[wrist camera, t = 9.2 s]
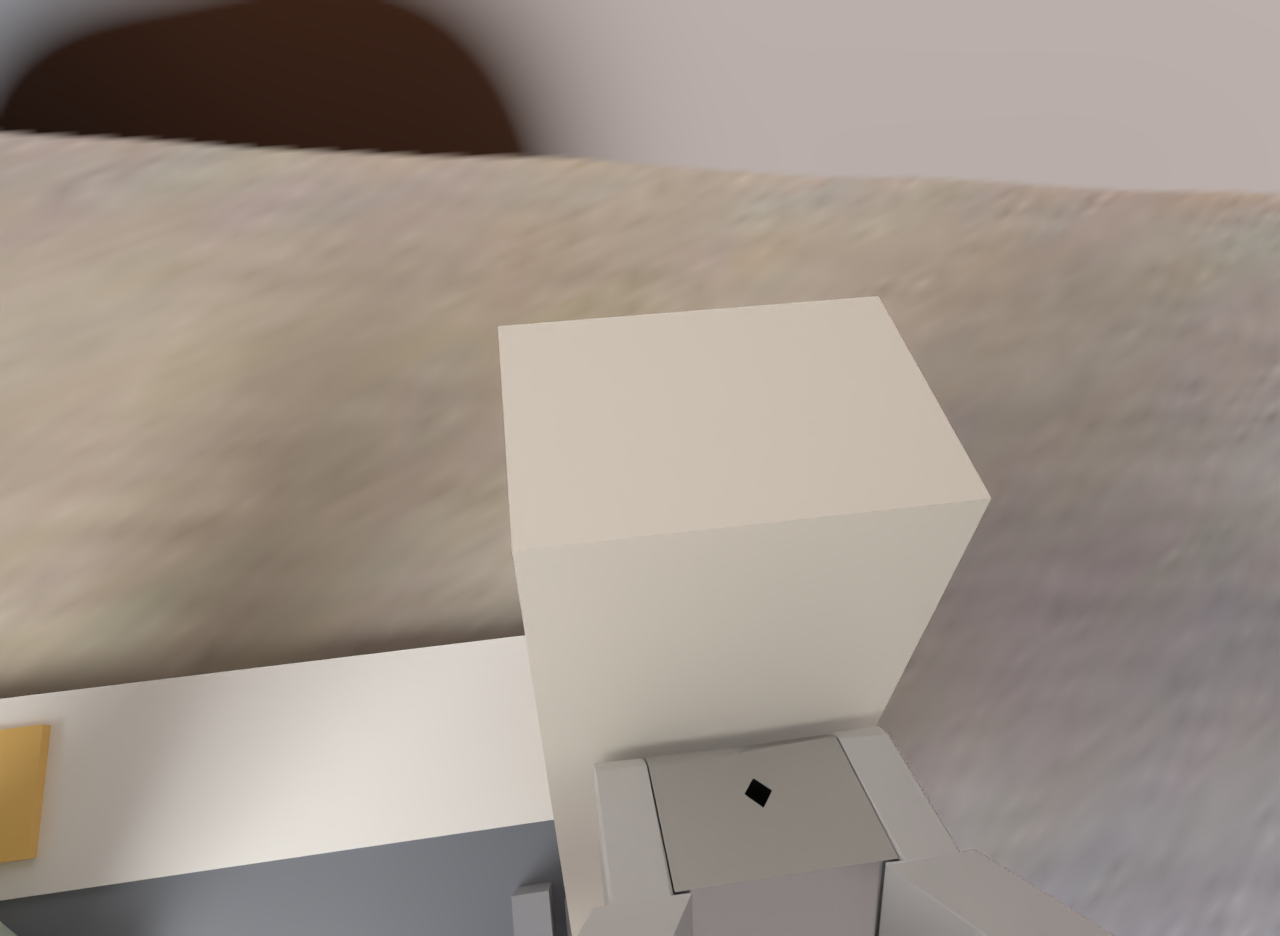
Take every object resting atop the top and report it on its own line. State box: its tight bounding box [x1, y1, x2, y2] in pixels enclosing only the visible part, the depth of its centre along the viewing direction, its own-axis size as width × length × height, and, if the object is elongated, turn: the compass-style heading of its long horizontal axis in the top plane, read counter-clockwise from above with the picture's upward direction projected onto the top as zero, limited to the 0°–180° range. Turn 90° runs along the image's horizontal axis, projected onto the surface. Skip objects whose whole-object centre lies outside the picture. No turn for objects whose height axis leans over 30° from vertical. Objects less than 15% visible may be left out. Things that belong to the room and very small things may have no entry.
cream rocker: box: [498, 296, 991, 936], centre depth 12 cm, size 2×4×15 cm, turn 100°
